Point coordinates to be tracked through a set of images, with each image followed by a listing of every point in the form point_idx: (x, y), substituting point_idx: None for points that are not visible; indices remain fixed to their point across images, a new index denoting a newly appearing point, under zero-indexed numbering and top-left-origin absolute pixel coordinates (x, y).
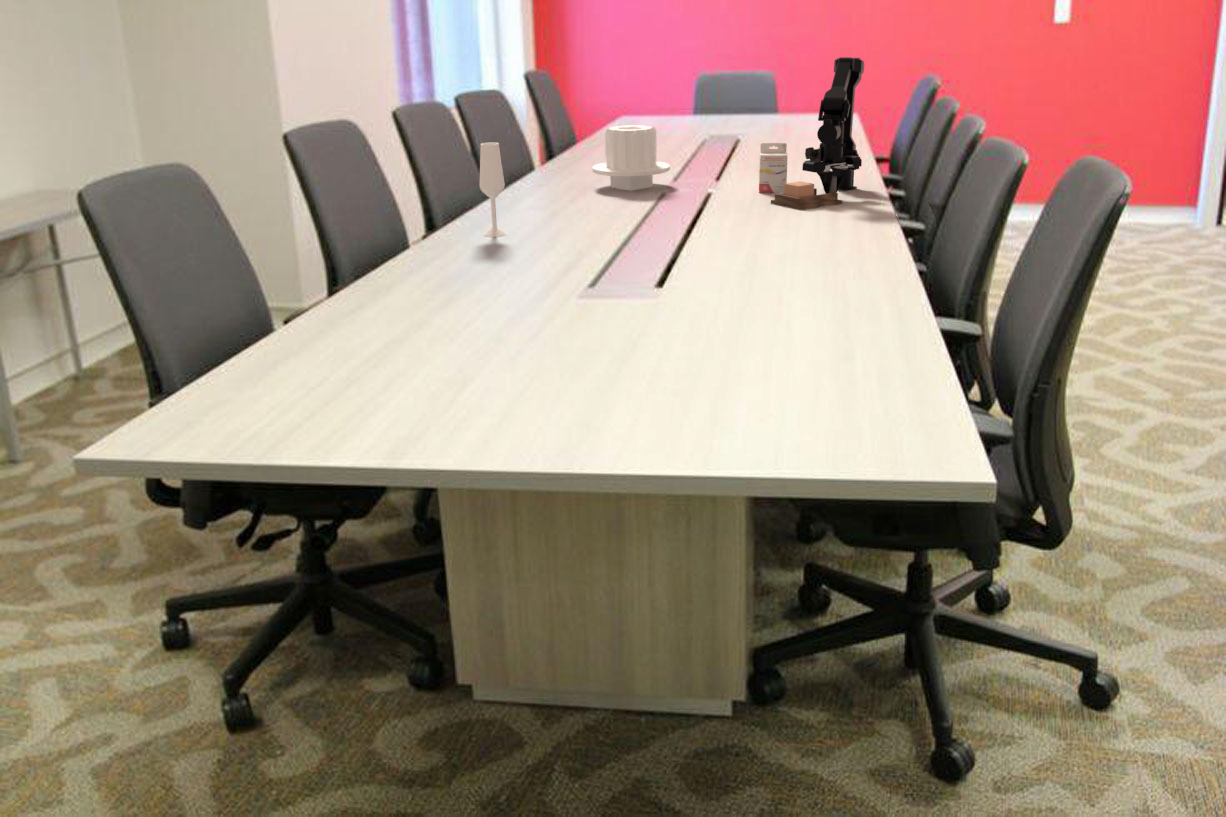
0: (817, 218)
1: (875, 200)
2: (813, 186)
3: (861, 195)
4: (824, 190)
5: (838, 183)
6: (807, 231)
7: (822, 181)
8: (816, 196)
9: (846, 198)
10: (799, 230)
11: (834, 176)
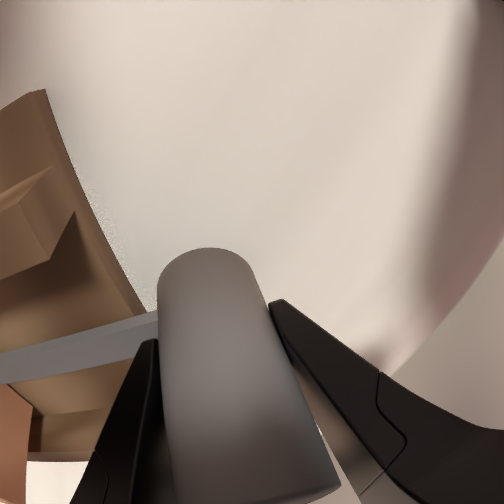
0: (59, 481)
1: (408, 346)
2: (21, 492)
3: (476, 202)
4: (131, 365)
5: (315, 419)
6: (45, 500)
7: (99, 471)
8: (46, 459)
9: (351, 266)
10: (31, 495)
11: (313, 496)
